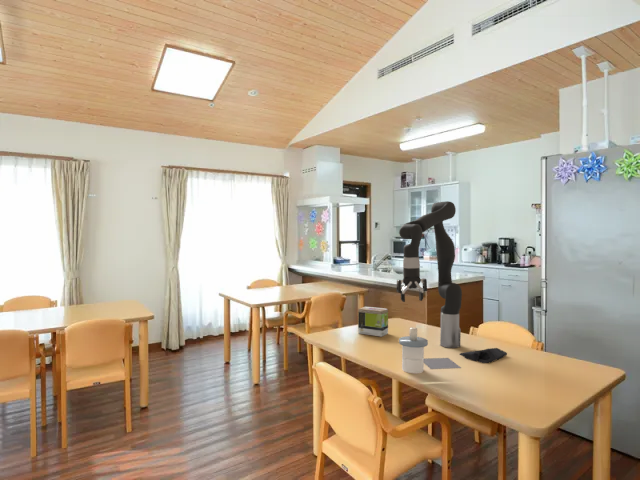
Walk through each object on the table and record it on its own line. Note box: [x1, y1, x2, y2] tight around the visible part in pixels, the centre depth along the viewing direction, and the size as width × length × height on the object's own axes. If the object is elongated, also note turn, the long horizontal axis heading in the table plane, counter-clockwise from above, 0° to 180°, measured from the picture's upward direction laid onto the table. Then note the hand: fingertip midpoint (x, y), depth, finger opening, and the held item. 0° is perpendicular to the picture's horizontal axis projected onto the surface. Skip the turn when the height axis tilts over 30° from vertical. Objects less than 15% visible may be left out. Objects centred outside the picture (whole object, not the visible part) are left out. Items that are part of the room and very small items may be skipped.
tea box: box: [357, 306, 389, 337], centre depth 237 cm, size 15×10×15 cm, turn 58°
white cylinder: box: [401, 345, 425, 374], centre depth 175 cm, size 9×9×12 cm
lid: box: [398, 326, 429, 348], centre depth 175 cm, size 12×12×6 cm
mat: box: [424, 357, 462, 370], centre depth 184 cm, size 14×14×1 cm
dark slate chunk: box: [459, 347, 508, 364], centre depth 195 cm, size 15×22×5 cm
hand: (412, 301), depth 192 cm, fingers open, 8 cm apart
